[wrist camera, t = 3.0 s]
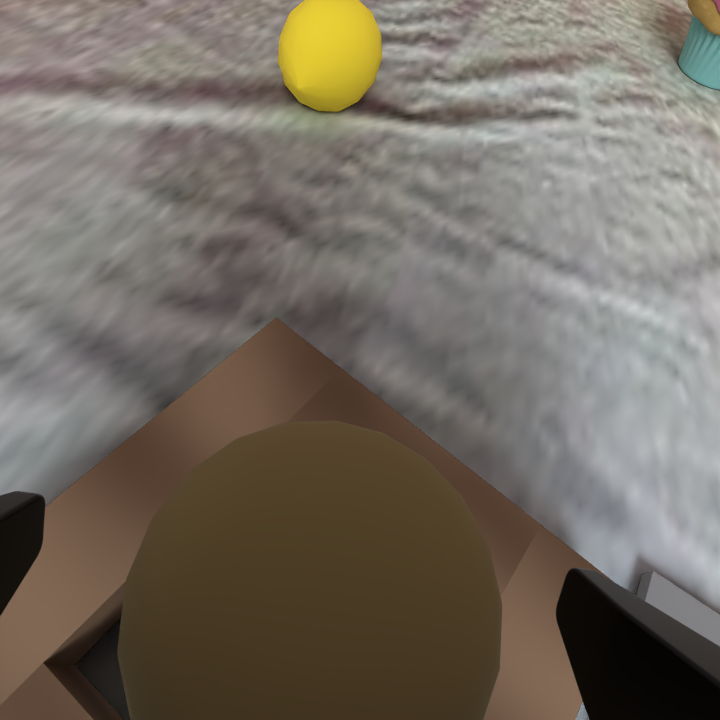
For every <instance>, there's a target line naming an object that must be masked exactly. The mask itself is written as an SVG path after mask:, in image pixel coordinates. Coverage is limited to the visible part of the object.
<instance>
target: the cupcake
mask: <svg viewBox="0 0 720 720" xmlns="http://www.w3.org/2000/svg"><path fill="white" fill-rule="evenodd" d="M688 7H689V9H690V10H691V12H692V14H693V15H692V20H691V25H690V29H689V32H688V36H687V39H686V42H685V44H684V47H683V50H682V52H681V55H680V57H679V61H678V63H679V66H680V68H681V70H682V71H683V72H684V73H685V74H686V75H687V76H688V77H690V78H691V79H693V80H694V81H696V82H698V83H700V84H702V85H704V86H706V87H709V88H712V89H717V90H720V0H688Z"/></svg>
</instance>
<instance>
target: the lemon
mask: <svg viewBox="0 0 720 720" xmlns="http://www.w3.org/2000/svg"><path fill="white" fill-rule="evenodd" d="M381 60H382V44H381V34H380V31H379V29H378V26H377V24H376V21H375V19H374V16H373V14H372V12H371V11H370V10H369V9H368V8H366V7H365V6H364V5H363V4H362V3H361V2H360V1H358V0H304V1H303V2H302V3H301V4H299V5H298V6H297V7H296V8H295V9H294V10H292V11H291V12H290V14H289V16H288V19H287V21H286V23H285V26H284V28H283V30H282V33H281V35H280V39H279V54H278V63H279V66H280V68H281V71H282V75H283V79H284V84H285V85H286V86H287V88H288V89H289V90H290V91H291V92H292V94H293V95H294V96H295V97H296V98H297V100H298V101H299V102H300V103H302V104H304V105H307V106H309V107H311V108H313V109H315V110H317V111H341V110H343V109H344V108H346V107H348V106H350V105H352V104H354V103H356V102H358V101H359V100H360V98H361V97H362V96H363V95H364V94H365V92H366V91H367V90H368V89H369V87H370V86H371V85H372V84H373V83H374V81H375V78H376V75H377V72H378V69H379V66H380V63H381Z"/></svg>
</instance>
